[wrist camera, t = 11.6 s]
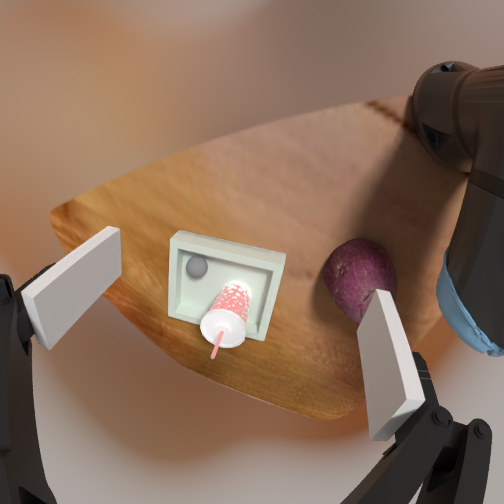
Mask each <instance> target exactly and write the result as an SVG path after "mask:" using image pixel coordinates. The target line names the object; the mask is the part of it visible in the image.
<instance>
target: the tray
mask: <svg viewBox="0 0 504 504" xmlns="http://www.w3.org/2000/svg"><path fill="white" fill-rule="evenodd" d="M194 256H200V257H202V258H204V259H205V260H206V262H207V264H208V270H207V273H206V274H205V275H204V276H203V277H201V278H193V277H191V276H190V275H189V274H188V273H187V270H186V264H187V261H188V260H189V259H190V258H191V257H194ZM285 258H286V254H284V253H280V252H276V251H272V250H267V249H263V248H259V247H254V246H250V245H245V244H241V243H237V242H232V241H228V240H224V239H219V238H215V237H211V236H206V235H202V234H197V233H193V232H189V231H184V230H179V231H178V232H177V233H176V234H175V235H174V236H173V237H172V238H171V239H170V258H169V290H168V316H170V317H174V318H177V319H180V320H184V321H187V322H191V323H194V324H198V325H201V320H202V319H203V317H204V316H205V314H206V313H207V312H209V310H210V308H211V307H212V305H213V303H214V302H215V300H216V298H217V297H218V295H219V293H220V292H221V290H222V288H223V287H224V285H225V284H226V283H228V282H230V281H239V282H243V283H244V284H246V285H247V286H248V287H249V289H250V290H251V295H252V296H251V301H250V306H249V311H248V317H247V322H246V329H247V331H246V336H245V337H248V338H252V339H256V340H261V341H264V339H265V336H266V332H267V329H268V325H269V321H270V318H271V314H272V310H273V307H274V303H275V299H276V295H277V292H278V288H279V284H280V280H281V276H282V272H283V269H284V264H285Z"/></svg>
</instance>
